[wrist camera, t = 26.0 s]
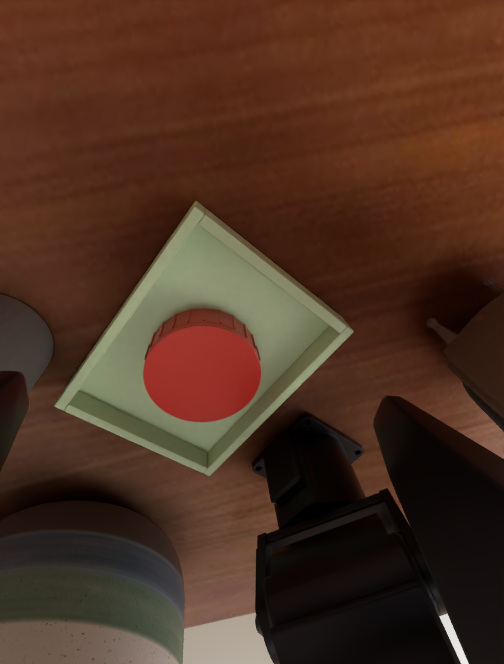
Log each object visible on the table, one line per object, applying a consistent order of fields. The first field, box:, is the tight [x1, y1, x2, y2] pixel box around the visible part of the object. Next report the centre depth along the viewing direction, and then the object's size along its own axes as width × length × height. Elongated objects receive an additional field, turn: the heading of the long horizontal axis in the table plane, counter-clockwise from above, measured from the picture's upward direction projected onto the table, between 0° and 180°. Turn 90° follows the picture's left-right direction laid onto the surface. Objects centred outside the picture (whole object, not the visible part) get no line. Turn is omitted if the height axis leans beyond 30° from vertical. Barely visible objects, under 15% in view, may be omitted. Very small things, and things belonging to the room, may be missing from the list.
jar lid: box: [143, 308, 261, 422], centre depth 20 cm, size 7×7×2 cm
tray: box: [54, 201, 354, 476], centre depth 21 cm, size 11×14×2 cm
